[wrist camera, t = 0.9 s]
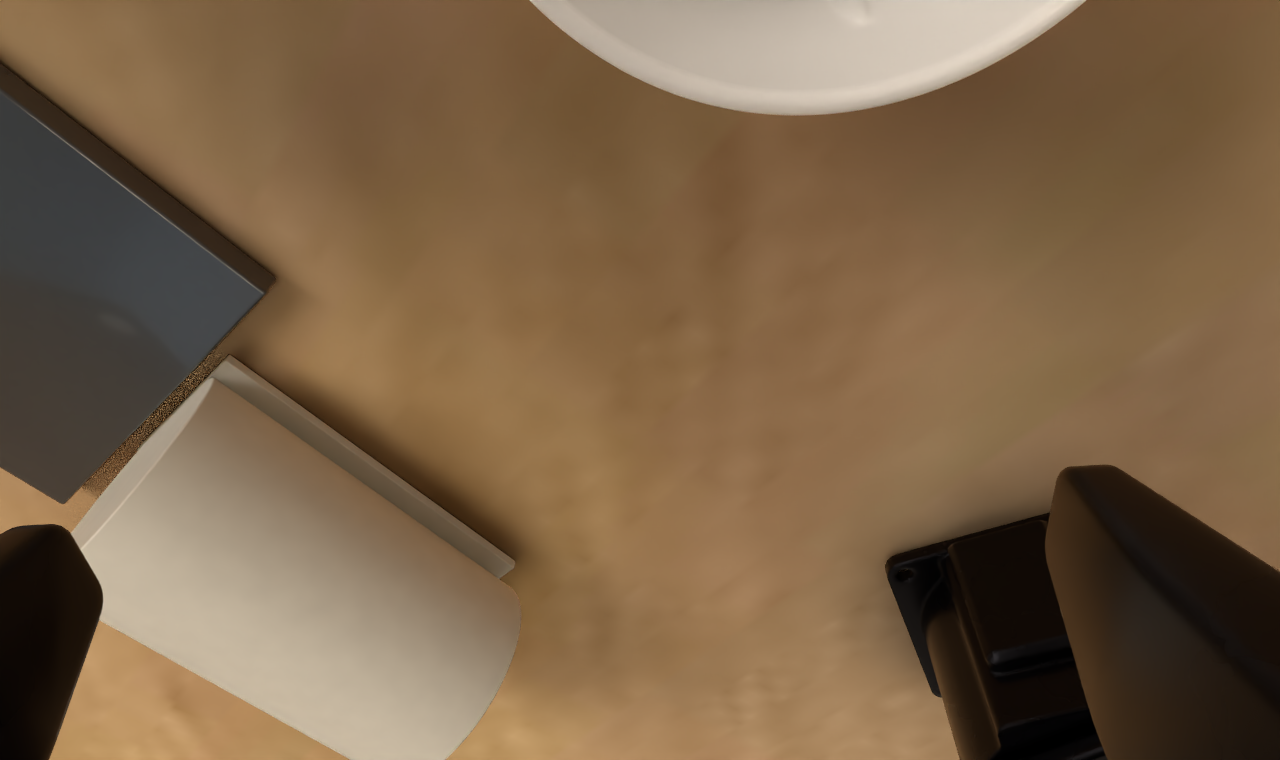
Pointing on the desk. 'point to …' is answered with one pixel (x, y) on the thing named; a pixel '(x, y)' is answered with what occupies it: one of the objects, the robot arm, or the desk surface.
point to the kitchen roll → (302, 575)
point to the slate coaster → (96, 294)
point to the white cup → (803, 46)
